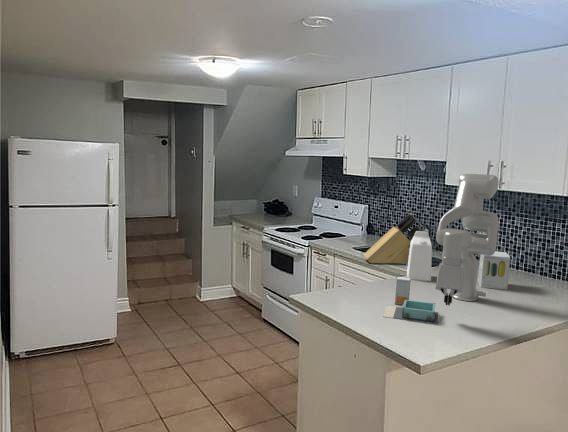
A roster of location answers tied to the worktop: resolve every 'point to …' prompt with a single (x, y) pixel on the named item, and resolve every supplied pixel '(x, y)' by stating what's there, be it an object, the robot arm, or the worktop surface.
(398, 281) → the skincare box
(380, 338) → the worktop surface
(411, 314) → the teal open tray
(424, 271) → the milk
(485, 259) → the supplement box
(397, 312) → the mat
